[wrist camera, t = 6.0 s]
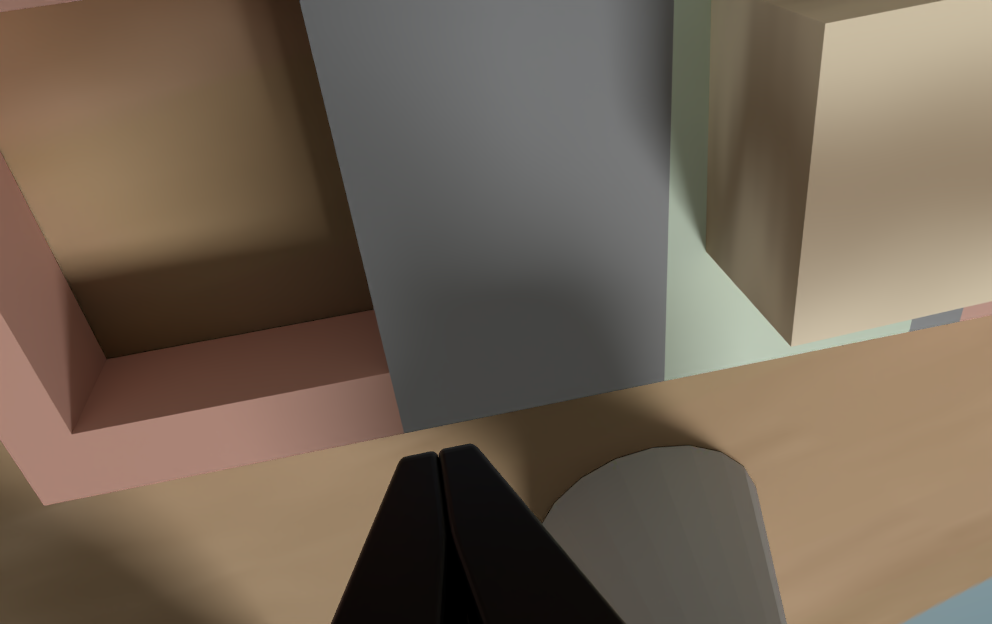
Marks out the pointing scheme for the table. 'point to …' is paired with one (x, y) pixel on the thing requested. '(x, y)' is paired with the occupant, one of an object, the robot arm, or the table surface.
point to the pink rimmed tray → (428, 252)
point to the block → (851, 159)
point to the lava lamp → (672, 538)
